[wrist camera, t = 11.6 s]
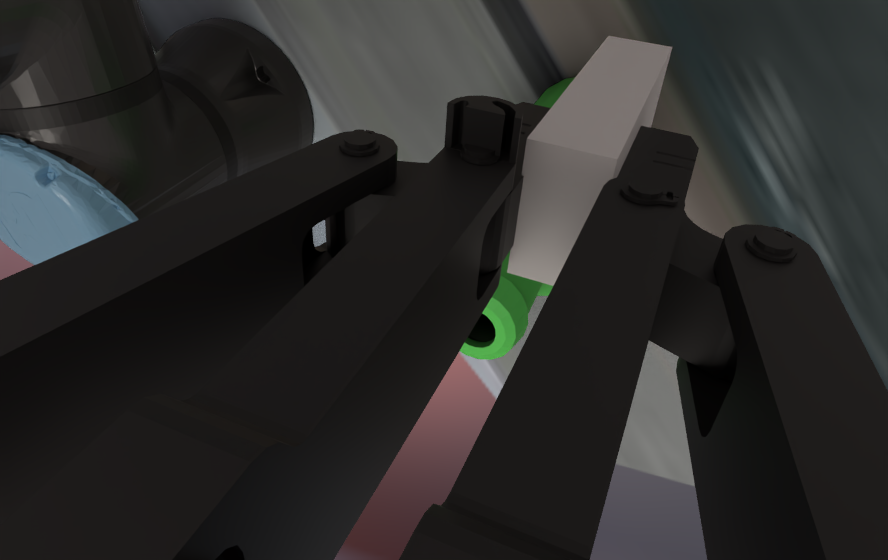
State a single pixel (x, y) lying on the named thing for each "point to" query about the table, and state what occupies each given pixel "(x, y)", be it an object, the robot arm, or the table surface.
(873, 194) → the table surface
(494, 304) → the bottle
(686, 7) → the table surface
